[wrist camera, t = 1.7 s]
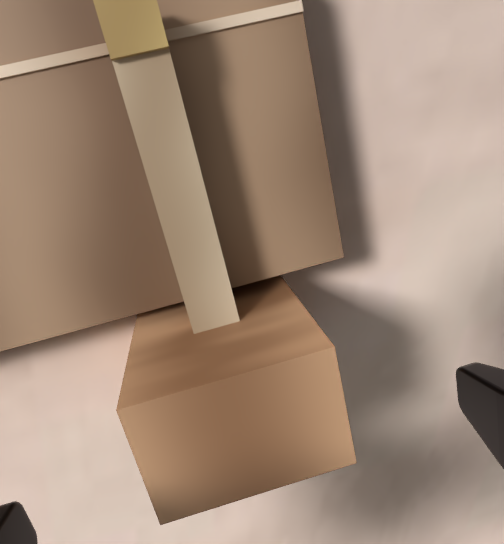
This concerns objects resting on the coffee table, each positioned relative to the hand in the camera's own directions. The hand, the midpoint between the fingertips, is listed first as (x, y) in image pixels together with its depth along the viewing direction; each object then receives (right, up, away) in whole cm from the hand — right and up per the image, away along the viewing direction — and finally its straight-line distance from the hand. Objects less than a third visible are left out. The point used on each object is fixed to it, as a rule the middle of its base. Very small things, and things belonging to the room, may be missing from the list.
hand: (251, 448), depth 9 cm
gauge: (-2, +5, +5) cm, 7 cm away
